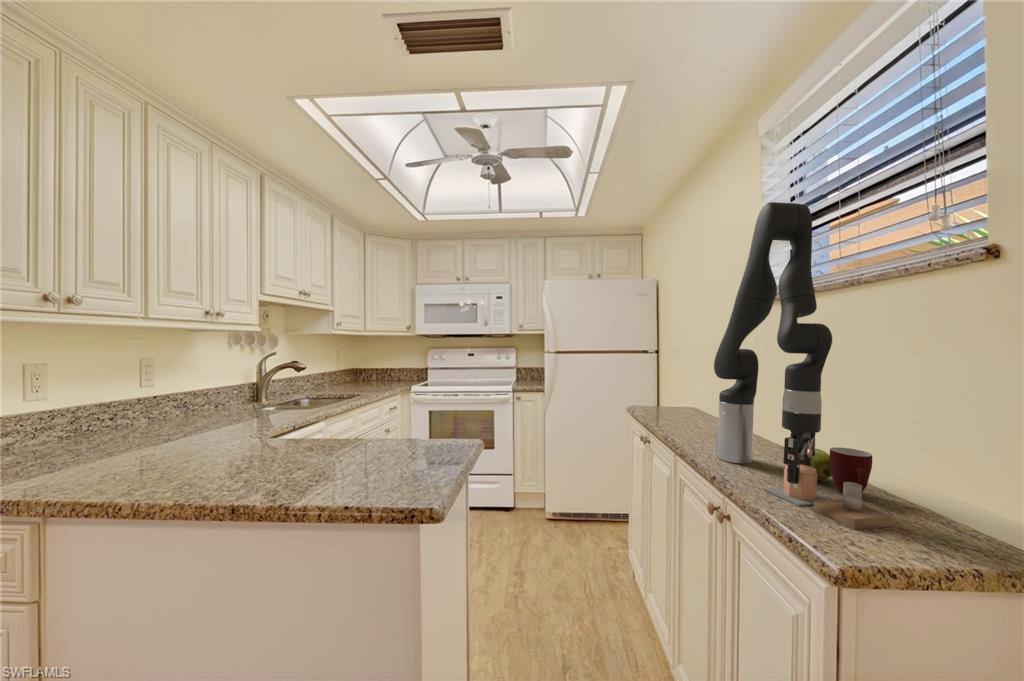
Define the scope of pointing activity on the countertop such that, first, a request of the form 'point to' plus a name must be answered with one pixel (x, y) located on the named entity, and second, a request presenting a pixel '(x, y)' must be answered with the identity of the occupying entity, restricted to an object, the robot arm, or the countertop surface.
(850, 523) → the post block
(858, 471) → the mug
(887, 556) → the countertop surface
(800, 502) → the mat
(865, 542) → the countertop surface
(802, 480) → the cap
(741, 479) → the countertop surface
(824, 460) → the apple
